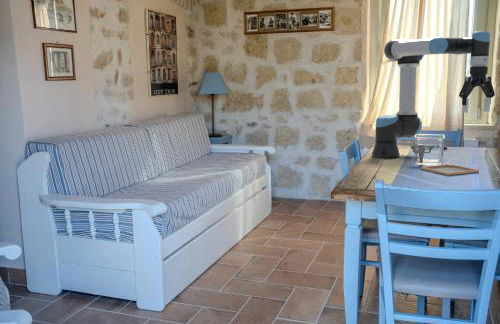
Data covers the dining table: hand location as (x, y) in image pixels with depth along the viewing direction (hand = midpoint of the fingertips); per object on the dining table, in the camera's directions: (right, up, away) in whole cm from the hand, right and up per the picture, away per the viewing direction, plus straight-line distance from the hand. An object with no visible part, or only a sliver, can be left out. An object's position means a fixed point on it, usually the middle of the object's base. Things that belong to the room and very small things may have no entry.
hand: (475, 111), depth 226 cm
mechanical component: (-19, -25, +20) cm, 37 cm away
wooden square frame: (-12, -28, +2) cm, 30 cm away
